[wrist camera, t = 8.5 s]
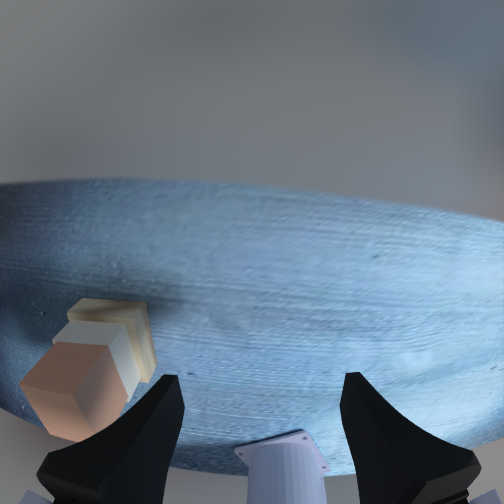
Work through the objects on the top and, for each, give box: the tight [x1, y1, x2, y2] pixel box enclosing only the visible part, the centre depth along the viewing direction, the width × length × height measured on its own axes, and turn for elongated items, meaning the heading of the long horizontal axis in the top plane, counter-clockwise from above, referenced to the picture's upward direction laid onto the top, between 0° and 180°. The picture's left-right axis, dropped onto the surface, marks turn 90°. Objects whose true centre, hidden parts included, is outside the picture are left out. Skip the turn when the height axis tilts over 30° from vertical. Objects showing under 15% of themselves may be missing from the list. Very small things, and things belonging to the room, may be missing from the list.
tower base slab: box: [67, 298, 157, 383], centre depth 23 cm, size 6×6×3 cm
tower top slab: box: [52, 320, 141, 402], centre depth 20 cm, size 5×5×3 cm
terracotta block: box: [19, 342, 128, 442], centre depth 16 cm, size 4×4×5 cm
